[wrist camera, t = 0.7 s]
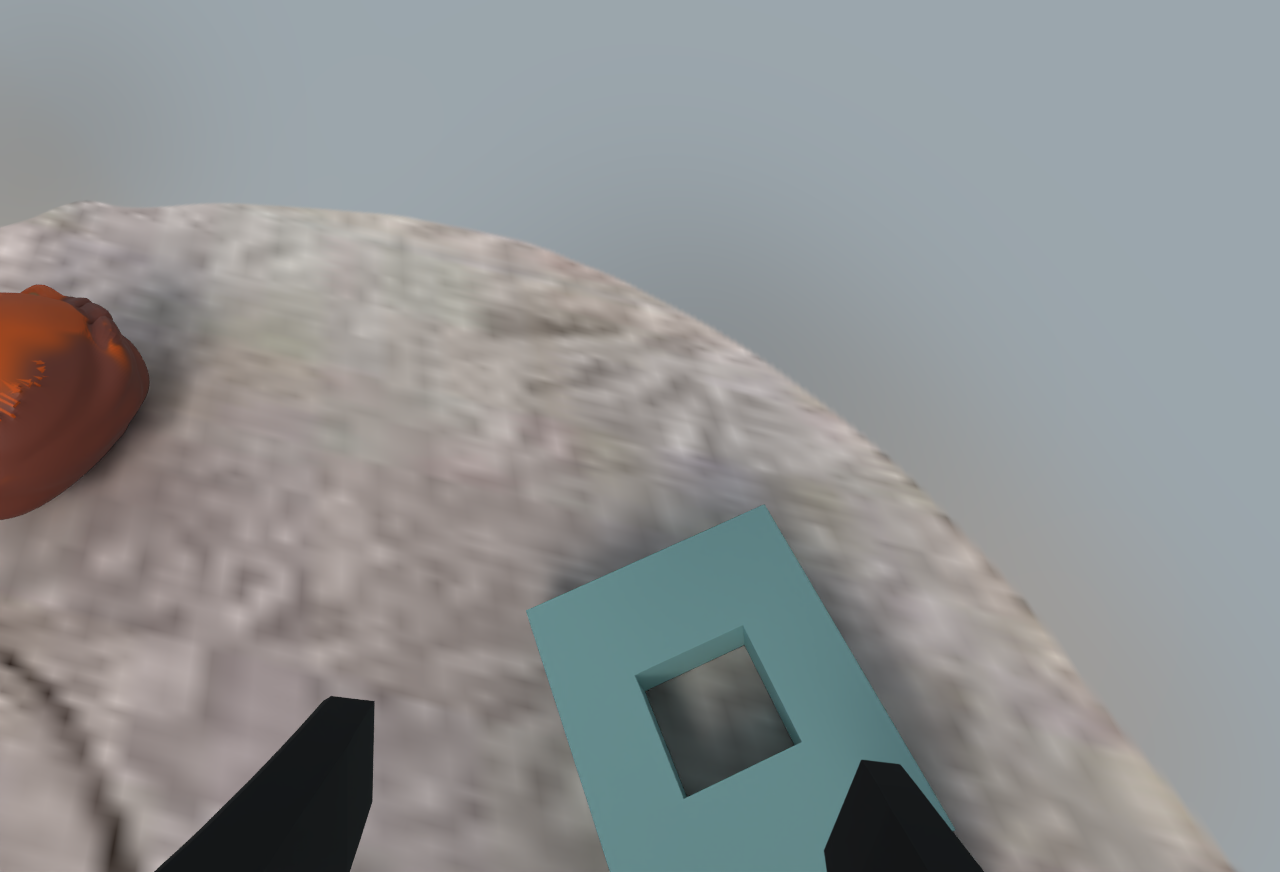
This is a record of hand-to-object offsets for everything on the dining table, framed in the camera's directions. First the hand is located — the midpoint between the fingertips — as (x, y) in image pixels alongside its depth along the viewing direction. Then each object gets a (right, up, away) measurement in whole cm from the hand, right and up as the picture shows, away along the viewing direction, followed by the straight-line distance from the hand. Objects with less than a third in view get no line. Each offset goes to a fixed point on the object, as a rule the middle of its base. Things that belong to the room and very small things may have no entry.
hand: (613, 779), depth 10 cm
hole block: (+3, -5, +15) cm, 16 cm away
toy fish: (-29, +4, +27) cm, 40 cm away
